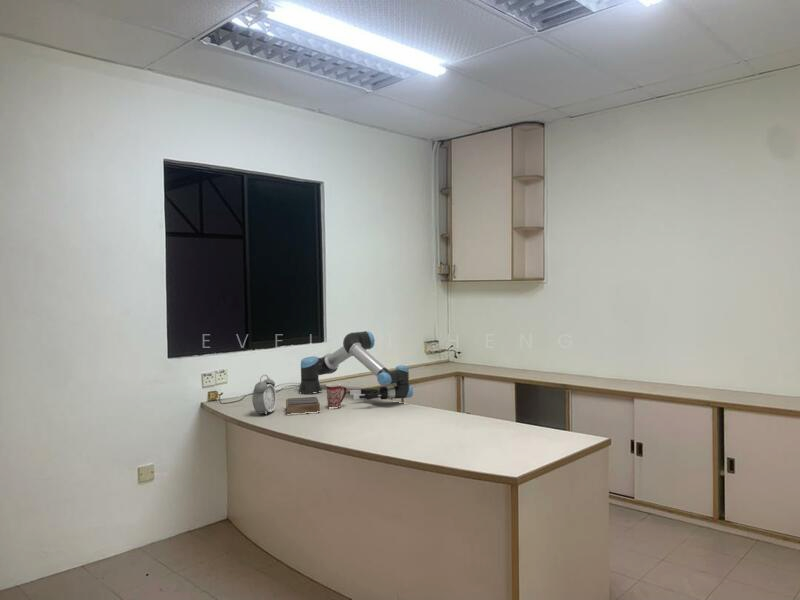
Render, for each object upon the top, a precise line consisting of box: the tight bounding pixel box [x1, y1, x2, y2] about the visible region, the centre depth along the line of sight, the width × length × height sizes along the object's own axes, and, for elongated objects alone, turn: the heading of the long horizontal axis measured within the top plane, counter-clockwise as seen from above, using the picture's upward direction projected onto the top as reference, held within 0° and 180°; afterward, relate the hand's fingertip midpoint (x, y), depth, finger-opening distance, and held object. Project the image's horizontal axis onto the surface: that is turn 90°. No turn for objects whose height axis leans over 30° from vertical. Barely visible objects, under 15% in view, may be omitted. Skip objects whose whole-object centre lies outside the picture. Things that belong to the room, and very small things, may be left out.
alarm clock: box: [251, 374, 277, 415], centre depth 312 cm, size 16×9×22 cm, turn 168°
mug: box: [325, 383, 347, 408], centre depth 325 cm, size 13×9×14 cm
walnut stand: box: [285, 396, 321, 415], centre depth 318 cm, size 18×18×6 cm
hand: (351, 394), depth 327 cm, fingers open, 13 cm apart
